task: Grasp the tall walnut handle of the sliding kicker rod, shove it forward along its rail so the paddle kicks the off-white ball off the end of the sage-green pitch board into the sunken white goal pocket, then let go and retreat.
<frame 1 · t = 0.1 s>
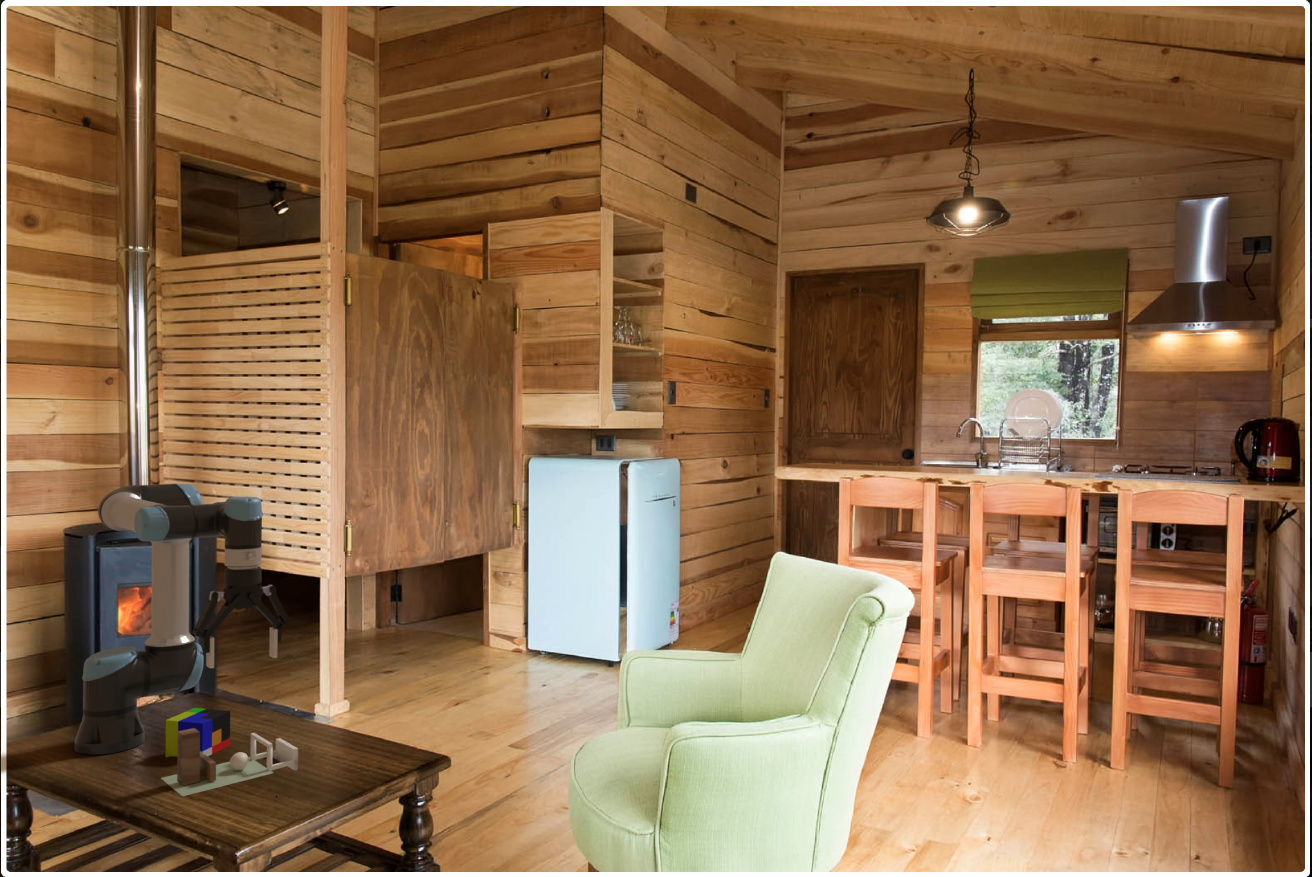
hand: (242, 662, 207), 28 cm above the table, fingers open, 13 cm apart
pitch: (232, 778, 212), on the table
ball: (239, 761, 213), point 3 cm above the table, touching pitch
kicker: (195, 755, 206), point 7 cm above the table, slide at 0.0 cm
puzzle toy: (198, 757, 226), on the table
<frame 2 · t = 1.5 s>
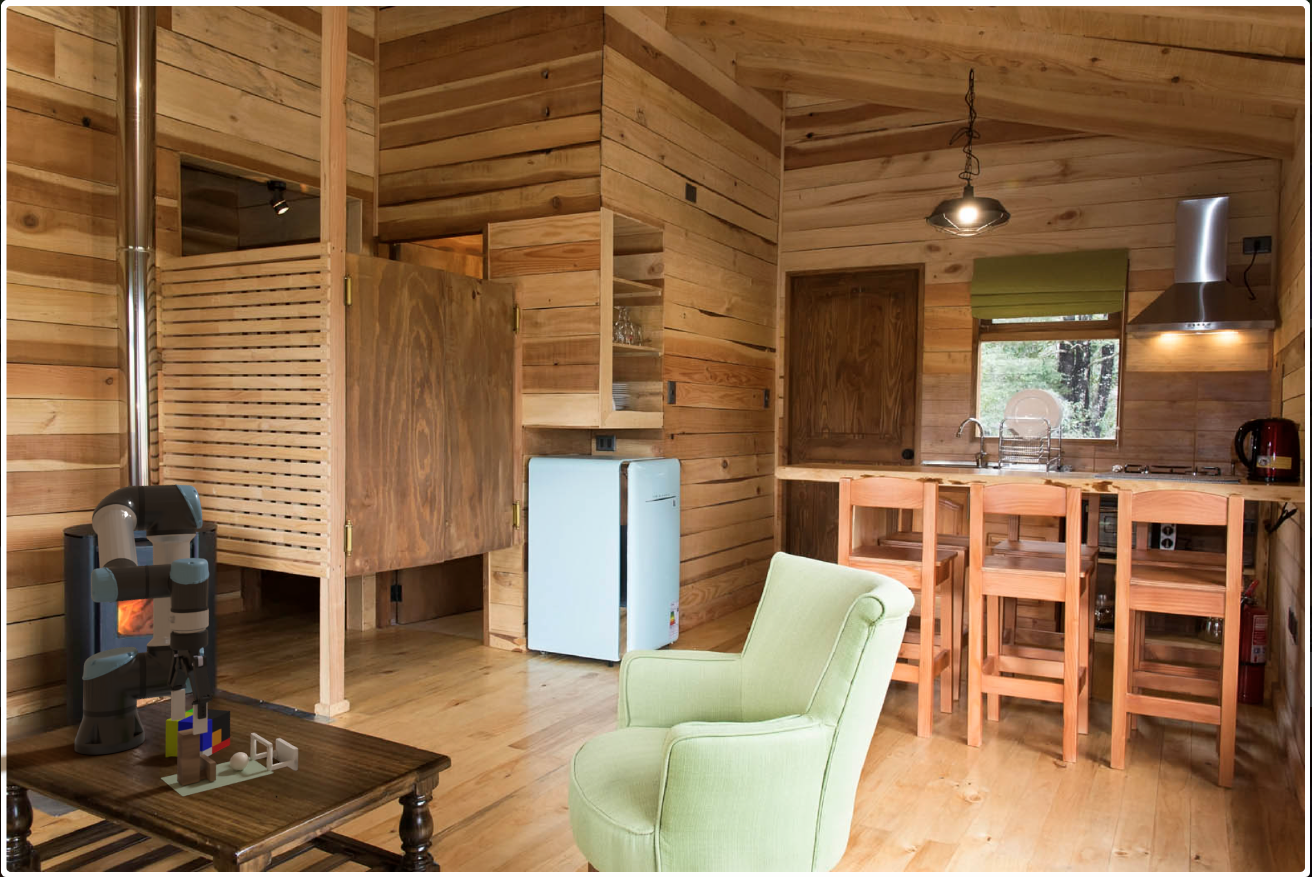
hand: (188, 726, 205), 14 cm above the table, fingers open, 13 cm apart
nothing on the table moved.
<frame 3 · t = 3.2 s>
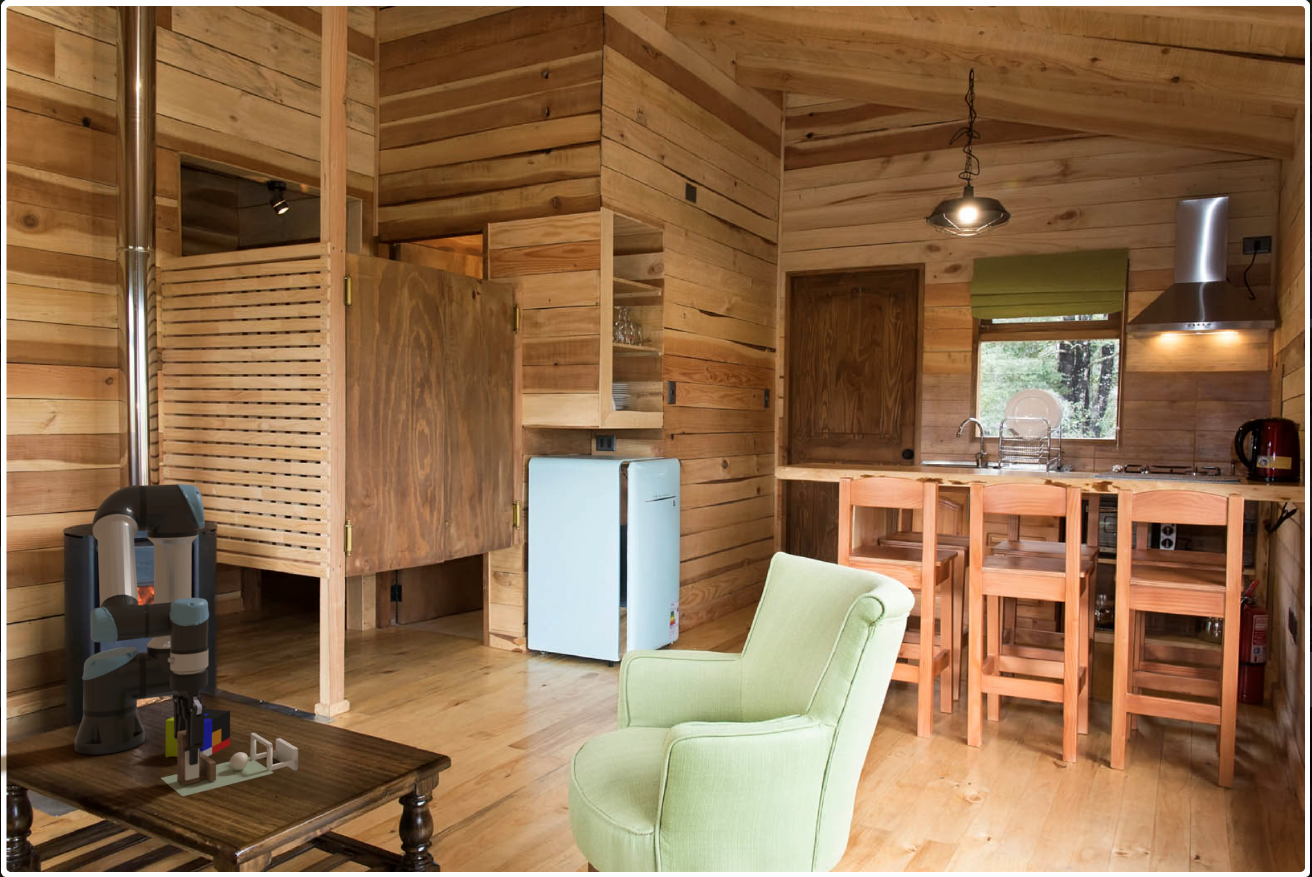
hand: (188, 775, 205), 3 cm above the table, fingers closed on kicker, 3 cm apart
kicker: (195, 755, 206), point 7 cm above the table, slide at 0.0 cm, touching gripper
everything else where it was.
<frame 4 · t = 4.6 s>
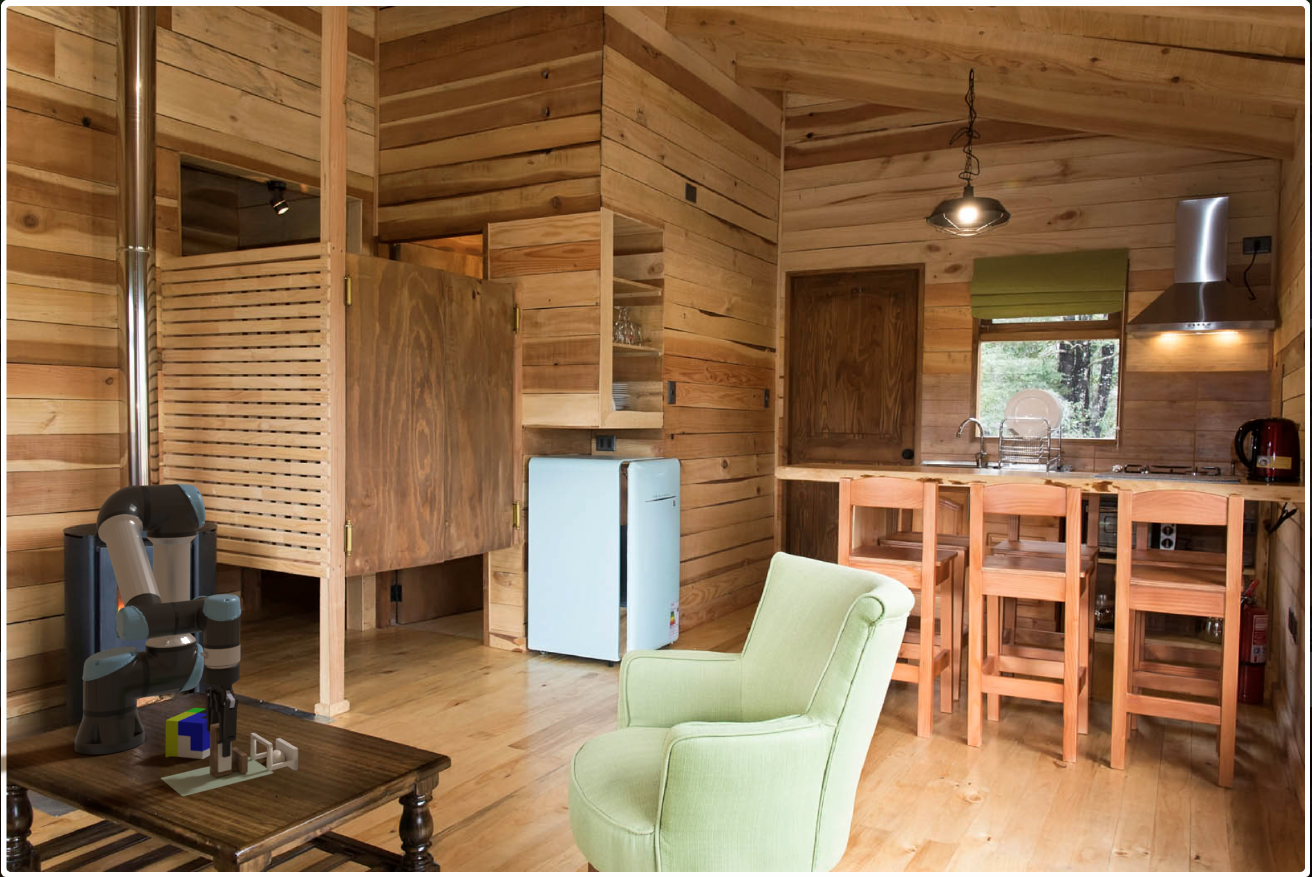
hand: (220, 767, 210), 3 cm above the table, fingers closed on kicker, 3 cm apart
ball: (275, 759, 219), point 2 cm above the table, tilted 104°
kicker: (227, 747, 211), point 7 cm above the table, slide at 6.9 cm, touching gripper
everything else where it was.
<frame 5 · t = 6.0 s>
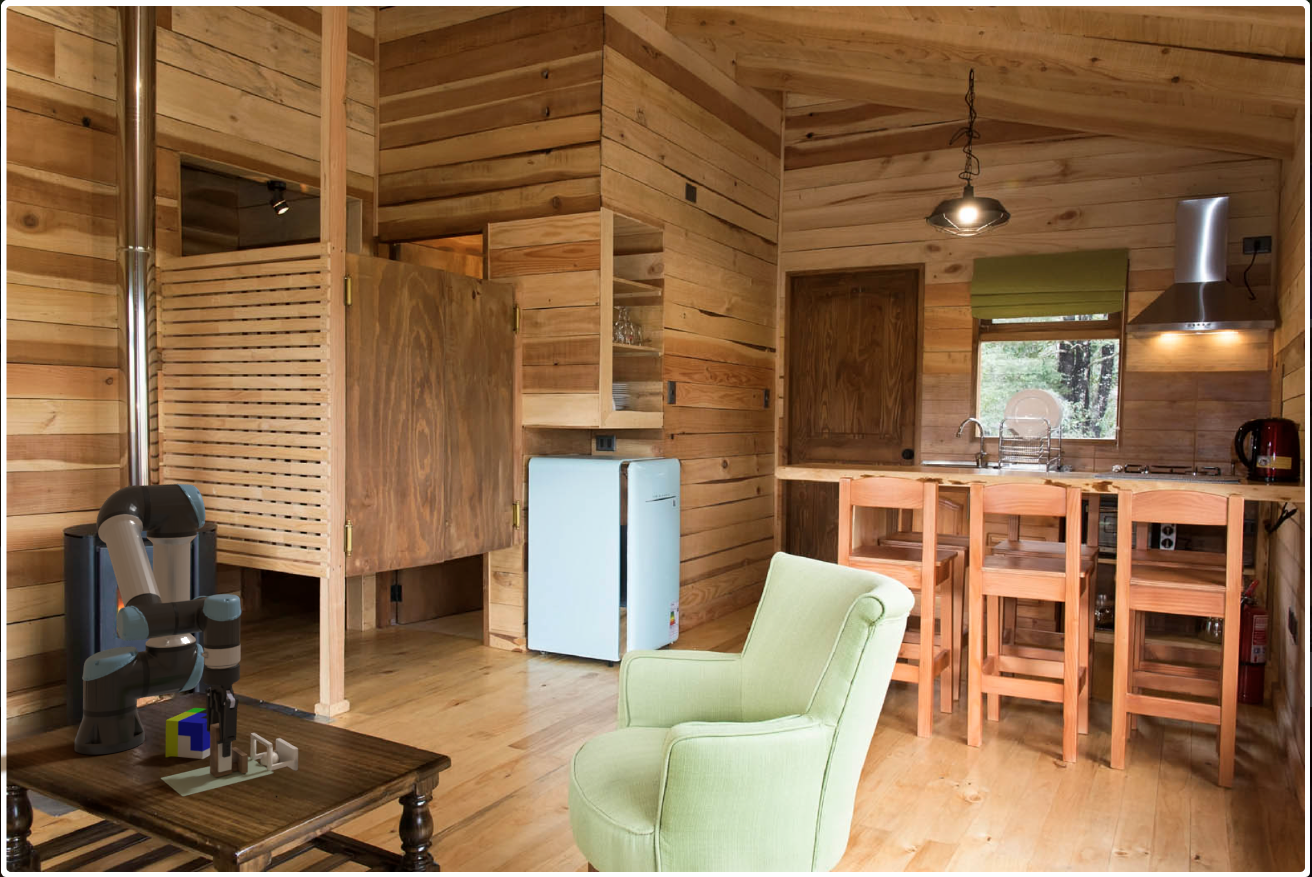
hand: (221, 767, 210), 3 cm above the table, fingers closed on kicker, 3 cm apart
ball: (269, 760, 218), point 2 cm above the table, tilted 145°
kicker: (227, 747, 211), point 7 cm above the table, slide at 6.9 cm, touching gripper
everything else where it was.
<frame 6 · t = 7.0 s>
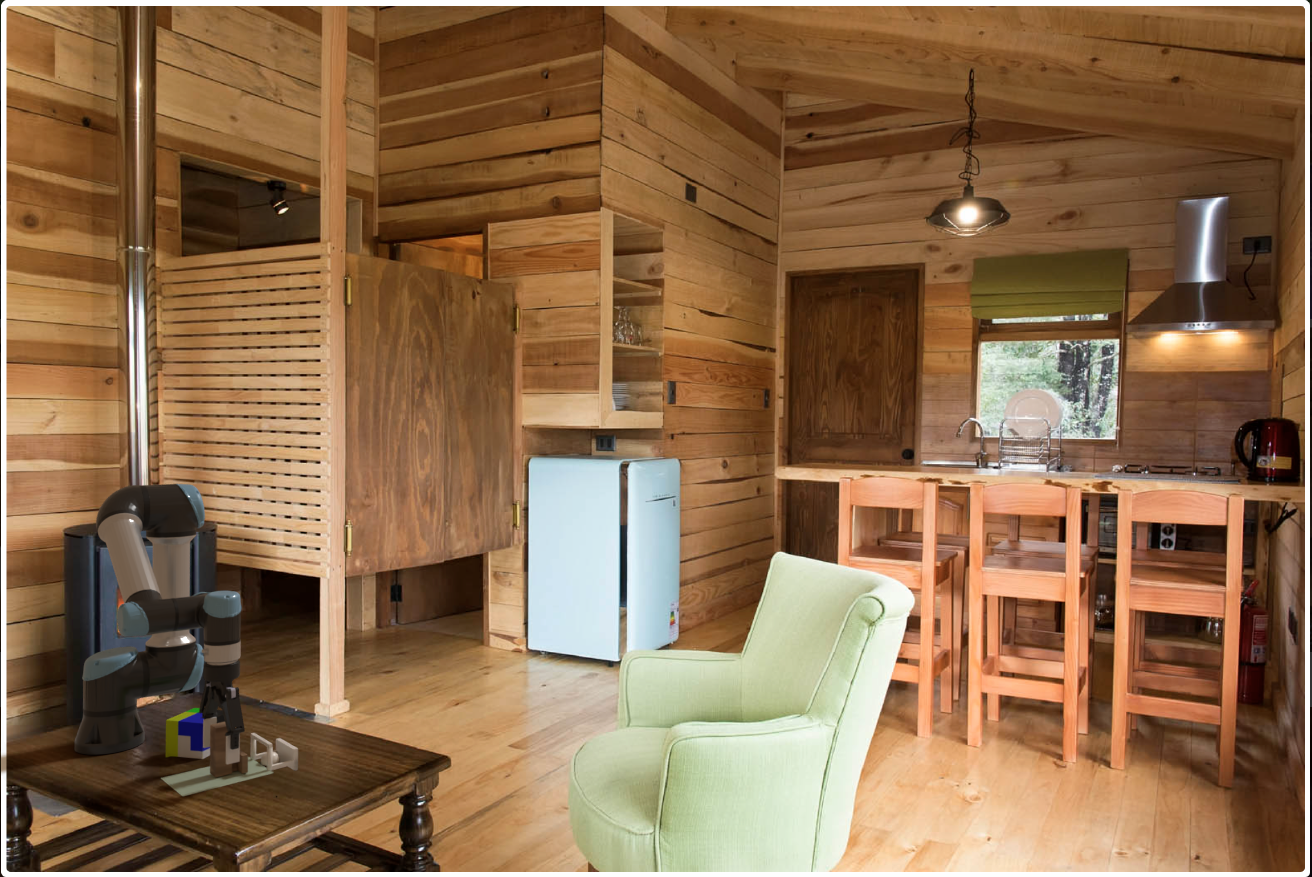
hand: (220, 754, 210), 6 cm above the table, fingers open, 13 cm apart
kicker: (227, 747, 211), point 7 cm above the table, slide at 6.9 cm
everything else where it was.
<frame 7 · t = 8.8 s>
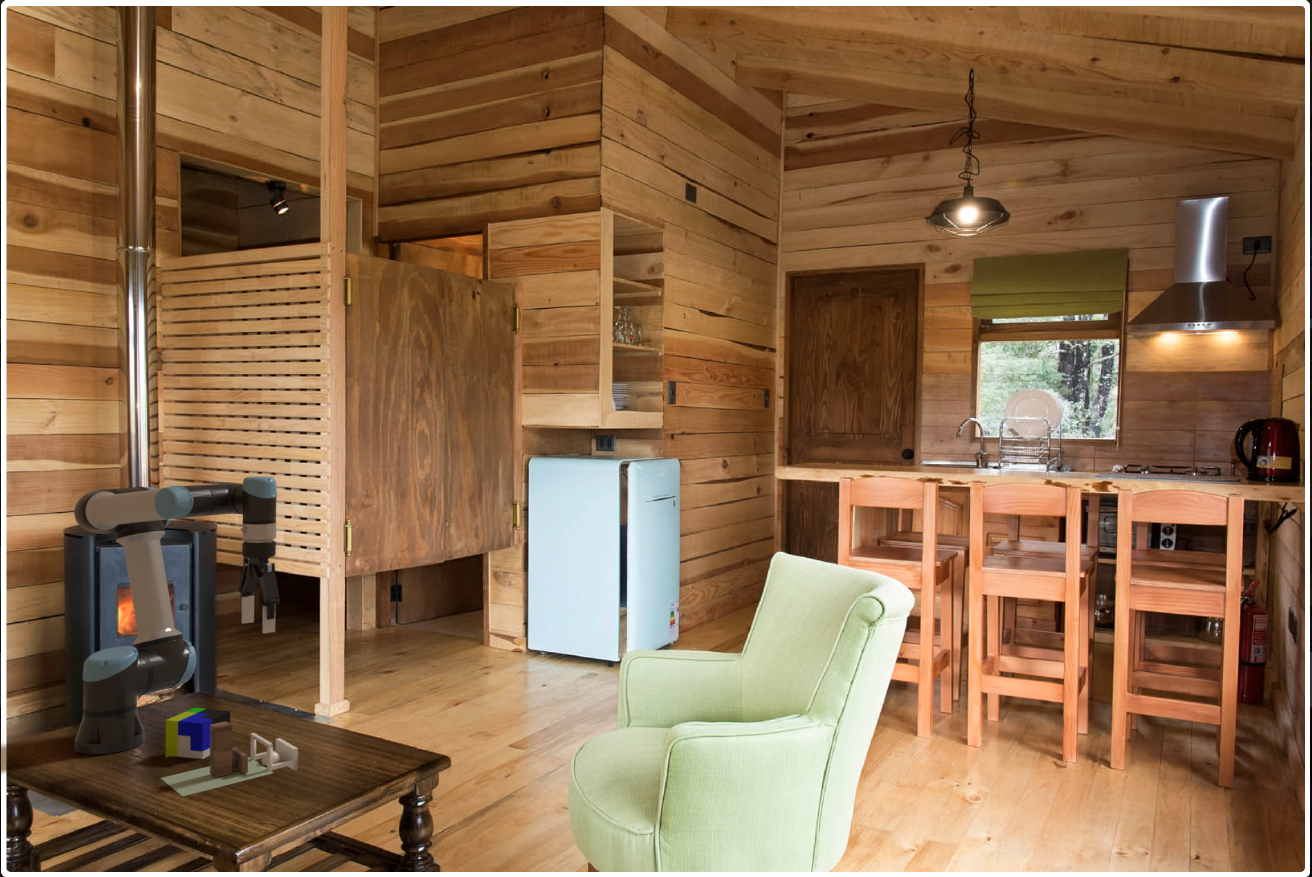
hand: (258, 627, 227), 31 cm above the table, fingers open, 13 cm apart
nothing on the table moved.
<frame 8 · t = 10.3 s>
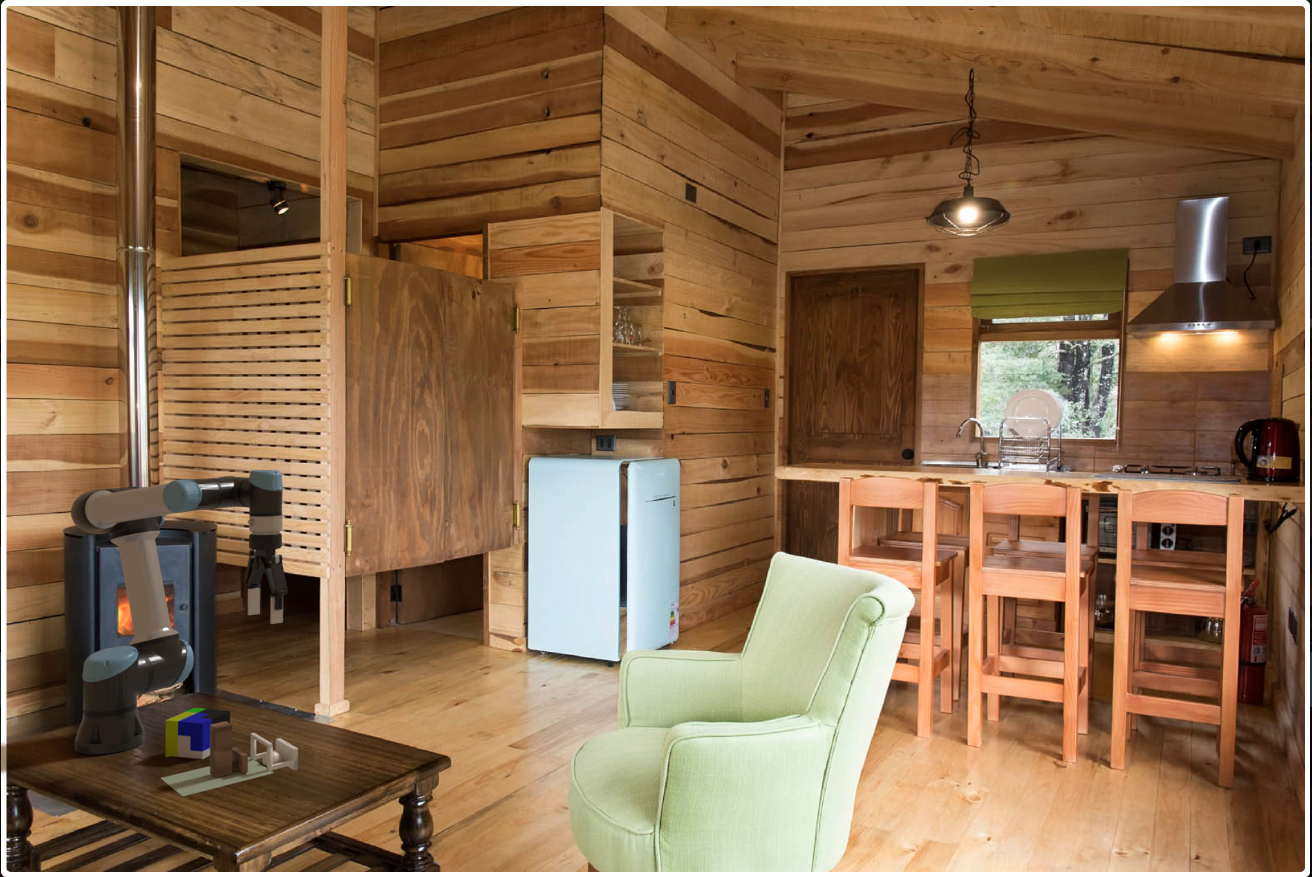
hand: (265, 618, 230), 33 cm above the table, fingers open, 13 cm apart
nothing on the table moved.
at the end: ball inside the target area (0.9 cm from its centre), point 2.0 cm above the table; kicker slide at 6.9 cm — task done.
